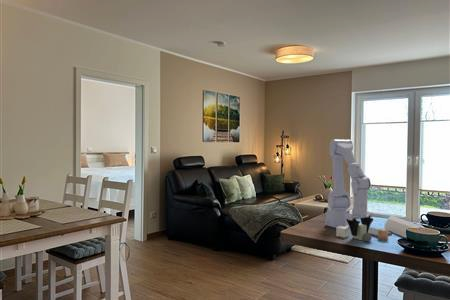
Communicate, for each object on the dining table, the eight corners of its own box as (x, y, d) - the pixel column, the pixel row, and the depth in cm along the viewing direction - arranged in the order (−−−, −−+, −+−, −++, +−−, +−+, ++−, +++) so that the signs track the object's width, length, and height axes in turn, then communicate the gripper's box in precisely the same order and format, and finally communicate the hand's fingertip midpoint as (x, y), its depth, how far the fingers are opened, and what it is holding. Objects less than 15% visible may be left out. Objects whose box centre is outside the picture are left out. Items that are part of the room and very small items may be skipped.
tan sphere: (375, 238, 144) (376, 229, 144) (381, 237, 146) (381, 228, 146) (384, 240, 141) (384, 231, 141) (389, 239, 143) (390, 230, 143)
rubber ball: (360, 241, 140) (360, 232, 140) (365, 239, 142) (365, 231, 142) (367, 243, 137) (368, 234, 137) (373, 242, 138) (373, 233, 138)
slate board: (351, 230, 157) (352, 228, 157) (364, 227, 162) (365, 225, 162) (378, 237, 145) (378, 235, 145) (391, 234, 150) (391, 232, 150)
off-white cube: (336, 236, 147) (336, 227, 147) (340, 234, 150) (340, 225, 150) (344, 237, 145) (345, 229, 145) (348, 236, 148) (348, 227, 147)
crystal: (378, 221, 162) (411, 234, 138) (390, 213, 162) (425, 226, 138) (385, 233, 162) (419, 249, 138) (396, 226, 163) (432, 240, 139)
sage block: (352, 237, 145) (353, 224, 145) (358, 236, 147) (358, 223, 147) (360, 239, 142) (360, 226, 142) (366, 238, 144) (366, 225, 144)
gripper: (357, 207, 137) (356, 239, 137) (378, 204, 144) (377, 234, 145) (343, 204, 143) (343, 234, 143) (364, 201, 150) (363, 230, 151)
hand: (359, 234), depth 144 cm, fingers open, 7 cm apart
